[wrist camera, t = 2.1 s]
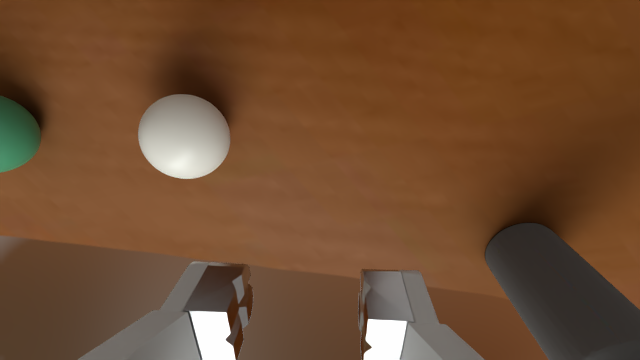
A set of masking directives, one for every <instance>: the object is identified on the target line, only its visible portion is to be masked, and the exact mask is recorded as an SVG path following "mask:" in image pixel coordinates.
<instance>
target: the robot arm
mask: <svg viewBox="0 0 640 360" xmlns="http://www.w3.org/2000/svg"><path fill="white" fill-rule="evenodd" d="M250 276H251V273H250V267H249V266H248V265H247V264H232V263H217V262H211V263H209V262H195V261H194V262H192V263H191V264H189V265H188V267H187V268H186V270H185V272H184V273H183V274H182V276H181V277H180V279H179V281H178V282H177V284H176V285H175V287H174V288H173V290H172V291H171V293H170V295H169V296H168V298H167V299H166V301H165V302H164V304H163V305H162V307H161V308H160V310H154V311H151V312H150V313H148V314H147V315H145V316H144V317H142V318H141V319H139V320H138V321H136V322H135V323H133V324H131V325H130V326H128V327H127V328H125V329H124V330H122V331H121V332H119V333H118V334H116V335H115V336H113V337H112V338H110V339H109V340H107V341H105V342H104V343H102V344H101V345H99V346H98V347H96V348H95V349H93V350H92V351H90V352H89V353H87V354H86V355H84V356H82V357H81V358H80V359H78V360H238V356H239V353H240V350H241V347H242V344H243V340H244V337H243V330H242V329H243V328H244V327H245V326H247V325H248V323H249V320H250V317H251V313H252V307H253V288H252V287H251V286H250V285H249V284H248V282H249V280H250ZM360 285H361V291H360V292H359V301H358V319H359V329H360V331H361V343H360V344H361V345H360V347H361V359H362V360H485V359H483V358H482V357H481V356H480V355H479V354H478V353H477V352H476V351H475V350H474V349H472V348H471V347H470V346H469V345H468V344H467V343H466V342H465V341H464V340H462V339H461V338H460V337H459V336H458V335H457V334H456V333H455V332H454V331H452V330H451V329H450V328H449V327H448V326H447V325H446V324H439V321H438V319H437V316H436V313H435V311H434V308H433V305H432V302H431V299H430V296H429V294H428V291H427V288H426V285H425V283H424V280H423V277H422V274H421V273H420V272H419V271H418V270H399V271H398V270H376V269H362V270H361V276H360Z"/></svg>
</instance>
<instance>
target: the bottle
mask: <svg viewBox="0 0 640 360" xmlns="http://www.w3.org/2000/svg"><path fill="white" fill-rule="evenodd" d="M485 259H486V262H487V265H488V266H489V268H490V270H491V271H492V273H493V275H494V276H495V278H496V279H497V281H498V282H499V284H500V286H501V287H502V289H503V290H504V292H505V293H506V295H507V296H508V298H509V299H510V301H511V302H512V304H513V306H514V307H515V309H516V310H517V312H518V313H519V315H520V316H521V318H522V319H523V321H524V322H525V324H526V326H527V327H528V329H529V330H530V332H531V333H532V335H533V336H534V338H535V339H536V341H537V342H538V344H539V345H540V347H541V348H542V350H543V351H544V353H545V354H546V356H547V357H548V359H549V360H640V310H639V309H638V308H637V307H636V306H635V305H634V304H633V303H631V302H630V301H629V300H628V299H627V298H626V297H625V296H624V295H623V294H622V293H620V292H619V291H618V290H617V289H616V288H615V287H614V286H613V285H612V284H611V283H610V282H608V281H607V280H606V279H605V278H604V277H603V276H602V275H601V274H600V273H599V272H597V271H596V270H595V269H594V268H593V267H592V266H591V265H590V264H589V263H588V262H586V261H585V260H584V259H583V258H582V257H581V256H580V255H579V254H578V253H577V252H575V251H574V250H573V249H572V248H571V247H570V246H569V245H568V244H567V243H565V242H564V241H563V240H562V239H561V238H560V237H559V236H558V235H556V234H555V233H554V232H553V231H552V230H550V229H549V228H547V227H546V226H543V225H541V224H537V223H521V224H517V225H513V226H511V227H508V228H506V229H504V230H502V231H501V232H499V233H498V234H497V235H496V236H494V238H493V239H492V240H491V241H490V242H489V244H488V246H487V248H486V252H485Z"/></svg>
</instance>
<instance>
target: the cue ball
mask: <svg viewBox="0 0 640 360" xmlns="http://www.w3.org/2000/svg"><path fill="white" fill-rule="evenodd" d="M138 138H139V144H140V147H141V150H142V152H143V154H144V156H145V157H146V159H147V160H148V161H149V162H150V163H151V164H152V165H153V166H154V167H155V168H156V169H158V170H159V171H161V172H163V173H164V174H167V175H169V176H172V177H176V178H182V179H192V178H198V177H201V176H204V175H207V174H209V173H211V172H212V171H214V170H215V169H216V168H217V167H218V166H219V165H220V164H221V163H222V162H223V161H224V159H225V157H226V156H227V153H228V150H229V146H230V131H229V127H228V124H227V122H226V120H225V118H224V117H223V115H222V114H221V112H220V111H219V110H218V109H217V108H216V107H215V106H214V105H212V104H211V103H210V102H208V101H206V100H204V99H202V98H200V97H197V96H194V95H188V94H175V95H170V96H166V97H164V98H161V99H159V100H158V101H156V102H155V103H153V104H152V105H151V106H150V107H149V108H148V109H147V110H146V111H145V113H144V115H143V116H142V118H141V121H140V125H139V129H138Z"/></svg>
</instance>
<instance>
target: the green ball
mask: <svg viewBox="0 0 640 360" xmlns="http://www.w3.org/2000/svg"><path fill="white" fill-rule="evenodd" d="M40 142H41V132H40V128H39V125H38V123H37V122H36V120H35V118H34V117H33V116H32V115H31V114H30V112H29V111H27V110H26V109H25V108H24V107H22V106H21V105H20V104H18V103H16V102H15V101H13V100H10V99H8V98H6V97H3V96H0V172H5V171H9V170H12V169H15V168H17V167H19V166H21V165H23V164H25V163H26V162H28V161H29V160H30V159H31V158H32V157H33V156H34V155H35V154H36V152H37V150H38V148H39V146H40Z"/></svg>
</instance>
